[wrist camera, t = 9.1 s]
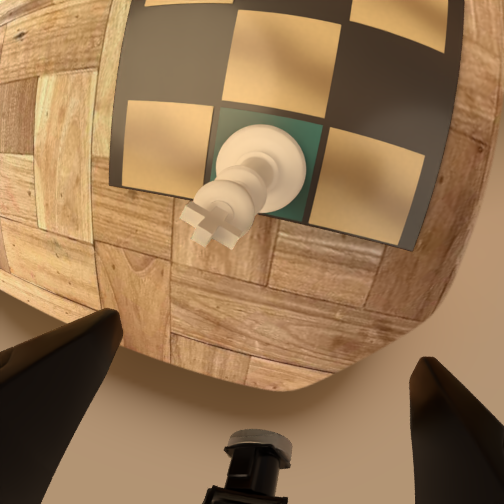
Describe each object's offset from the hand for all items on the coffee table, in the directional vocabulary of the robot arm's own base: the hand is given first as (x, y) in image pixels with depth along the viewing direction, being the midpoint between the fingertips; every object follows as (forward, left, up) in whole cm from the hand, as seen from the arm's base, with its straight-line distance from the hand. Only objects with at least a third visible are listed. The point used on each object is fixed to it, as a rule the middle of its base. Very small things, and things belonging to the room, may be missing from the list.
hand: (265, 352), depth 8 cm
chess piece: (+3, 0, -11) cm, 11 cm away
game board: (+18, -10, -12) cm, 23 cm away
